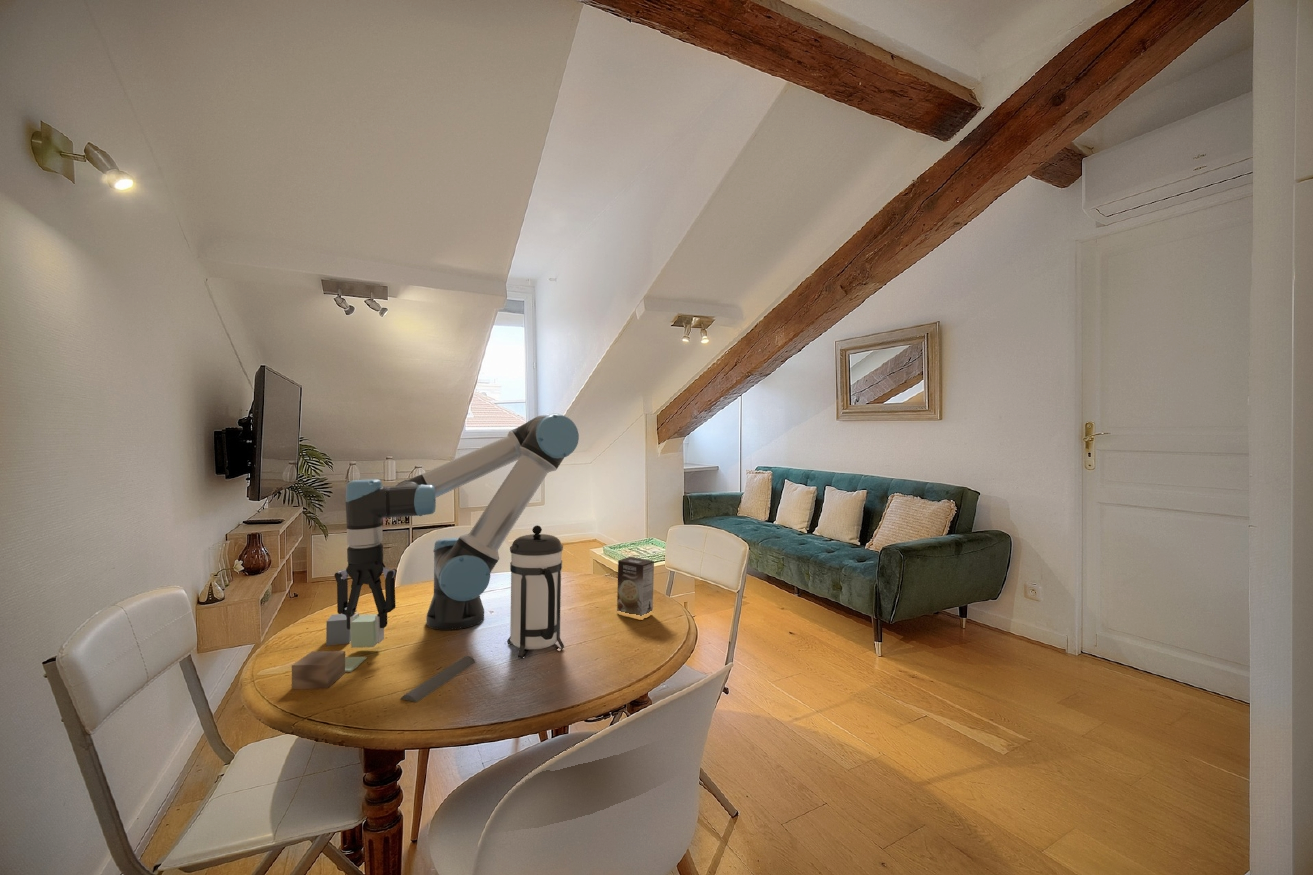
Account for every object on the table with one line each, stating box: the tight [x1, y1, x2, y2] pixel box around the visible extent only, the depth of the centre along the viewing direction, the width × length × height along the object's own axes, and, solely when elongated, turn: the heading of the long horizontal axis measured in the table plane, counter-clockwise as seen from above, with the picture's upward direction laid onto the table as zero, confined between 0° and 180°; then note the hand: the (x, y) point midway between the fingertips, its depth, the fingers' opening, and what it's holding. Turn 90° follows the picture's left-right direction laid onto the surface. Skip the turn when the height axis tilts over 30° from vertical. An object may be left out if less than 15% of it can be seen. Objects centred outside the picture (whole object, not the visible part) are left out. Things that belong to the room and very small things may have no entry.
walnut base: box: [291, 650, 346, 690], centre depth 113 cm, size 7×7×5 cm
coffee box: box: [616, 556, 655, 616], centre depth 157 cm, size 9×6×16 cm
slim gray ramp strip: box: [400, 655, 476, 703], centre depth 114 cm, size 4×20×2 cm, turn 164°
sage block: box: [350, 613, 378, 649], centre depth 128 cm, size 5×5×6 cm
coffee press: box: [506, 524, 565, 659], centre depth 131 cm, size 17×16×30 cm
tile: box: [345, 656, 367, 673], centre depth 120 cm, size 7×7×1 cm
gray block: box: [325, 613, 351, 646], centre depth 134 cm, size 5×5×6 cm
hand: (367, 641), depth 128 cm, fingers closed on sage block, 5 cm apart
